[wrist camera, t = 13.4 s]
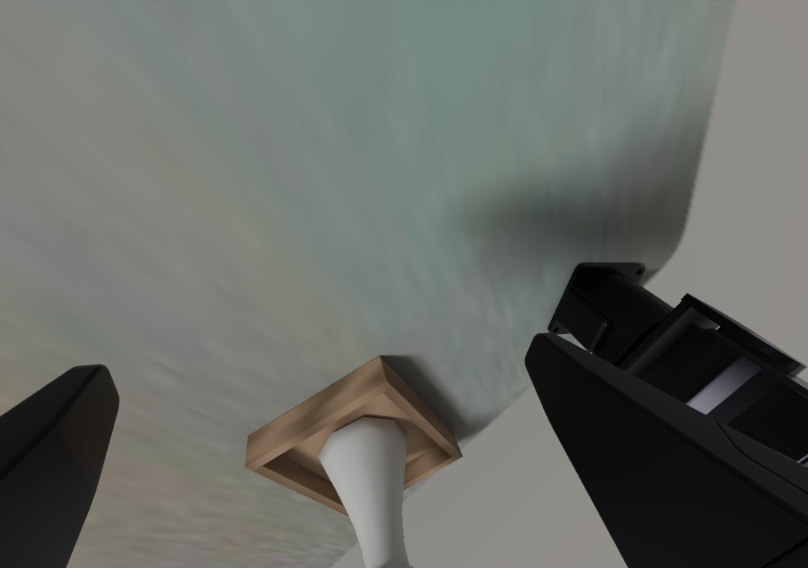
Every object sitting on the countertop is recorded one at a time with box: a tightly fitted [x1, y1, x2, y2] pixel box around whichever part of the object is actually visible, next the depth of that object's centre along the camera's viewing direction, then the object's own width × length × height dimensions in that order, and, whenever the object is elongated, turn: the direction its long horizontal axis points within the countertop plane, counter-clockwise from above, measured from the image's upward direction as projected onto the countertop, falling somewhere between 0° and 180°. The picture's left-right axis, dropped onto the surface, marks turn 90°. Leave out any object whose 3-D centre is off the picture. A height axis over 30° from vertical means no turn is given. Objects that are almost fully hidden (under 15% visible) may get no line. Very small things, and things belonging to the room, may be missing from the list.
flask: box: [318, 417, 413, 568], centre depth 26 cm, size 7×7×10 cm
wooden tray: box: [245, 356, 462, 516], centre depth 30 cm, size 12×14×2 cm
